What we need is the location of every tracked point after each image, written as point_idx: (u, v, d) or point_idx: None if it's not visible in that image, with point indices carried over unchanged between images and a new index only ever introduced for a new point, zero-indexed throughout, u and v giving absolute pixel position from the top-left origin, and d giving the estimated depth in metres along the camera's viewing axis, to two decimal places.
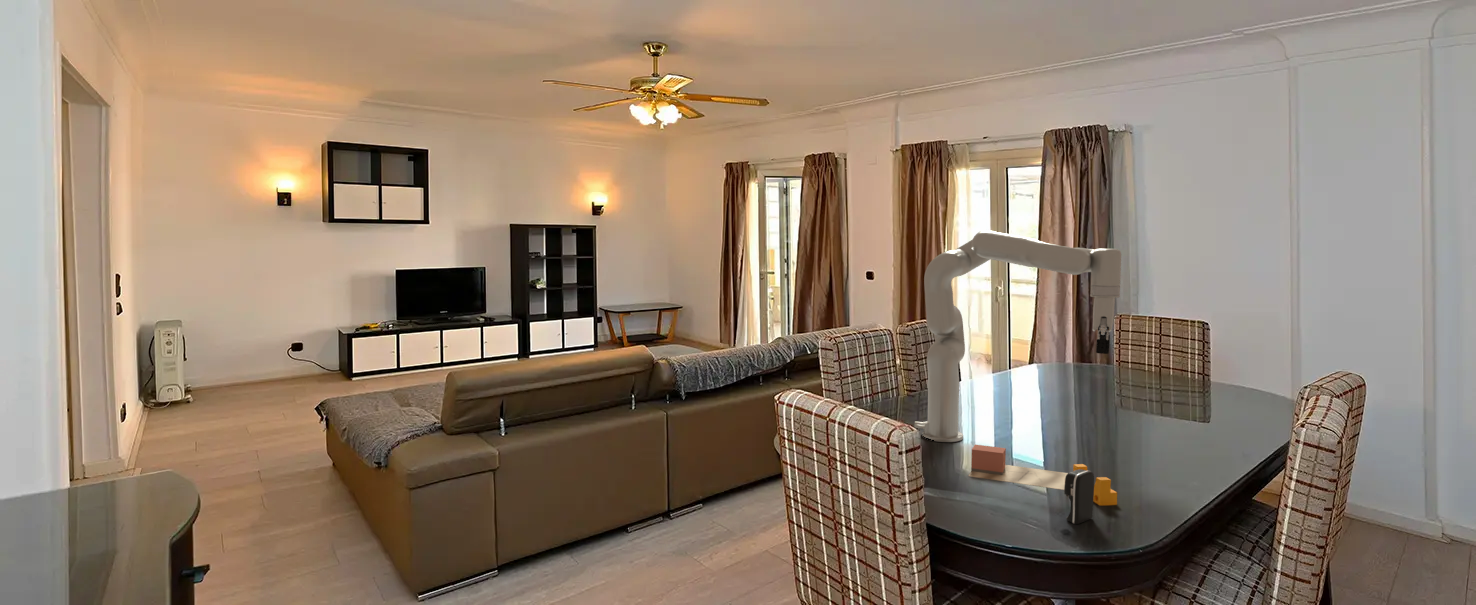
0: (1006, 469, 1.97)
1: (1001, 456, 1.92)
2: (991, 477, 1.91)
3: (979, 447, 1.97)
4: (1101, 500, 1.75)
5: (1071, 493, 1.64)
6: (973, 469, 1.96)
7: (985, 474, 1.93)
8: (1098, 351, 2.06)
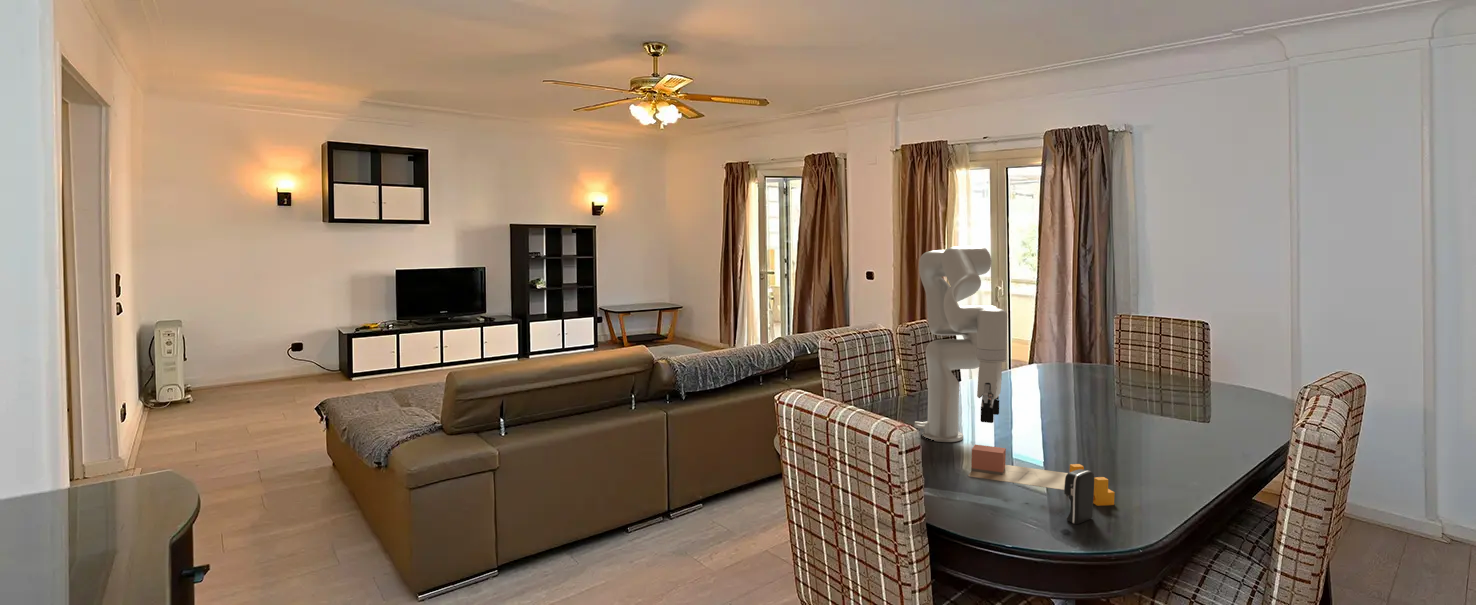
0: (1006, 469, 1.97)
1: (1001, 456, 1.92)
2: (991, 477, 1.91)
3: (979, 447, 1.97)
4: (1099, 500, 1.75)
5: (1071, 493, 1.64)
6: (973, 469, 1.96)
7: (985, 474, 1.93)
8: (982, 420, 1.91)
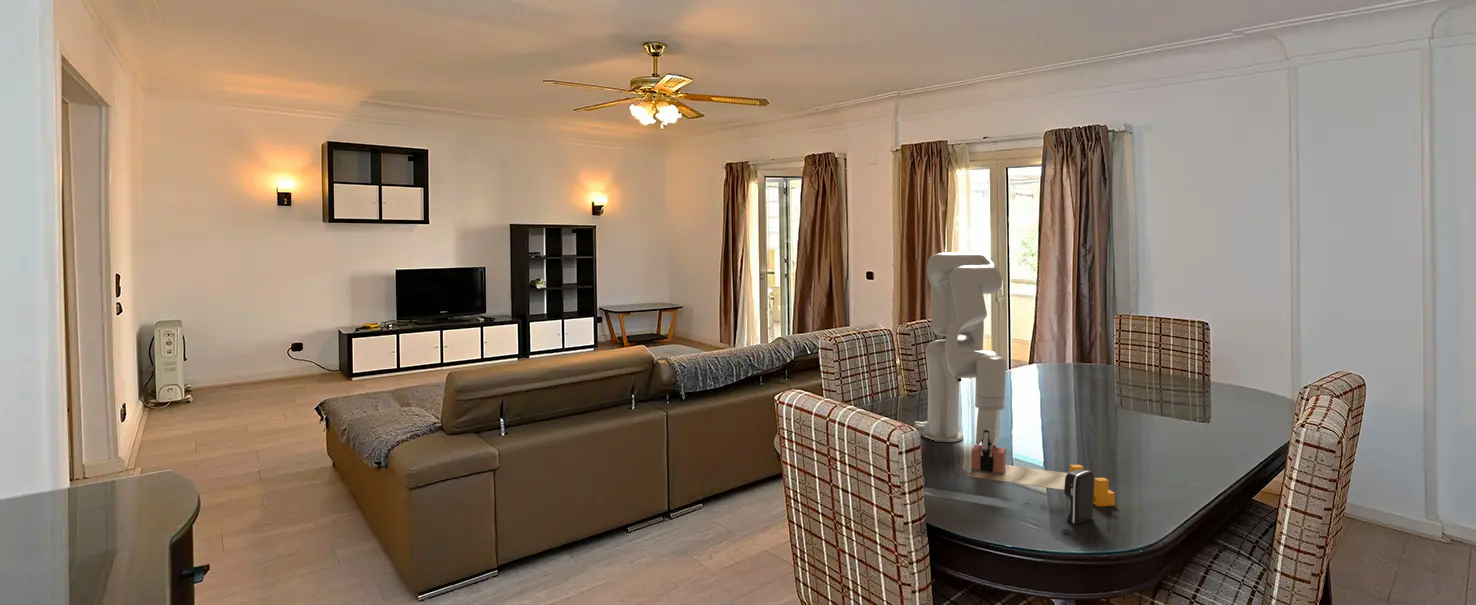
0: (1006, 469, 1.97)
1: (1001, 456, 1.92)
2: (991, 477, 1.91)
3: (979, 447, 1.97)
4: (1099, 501, 1.74)
5: (1071, 493, 1.64)
6: (973, 469, 1.96)
7: (985, 474, 1.93)
8: (982, 468, 1.94)
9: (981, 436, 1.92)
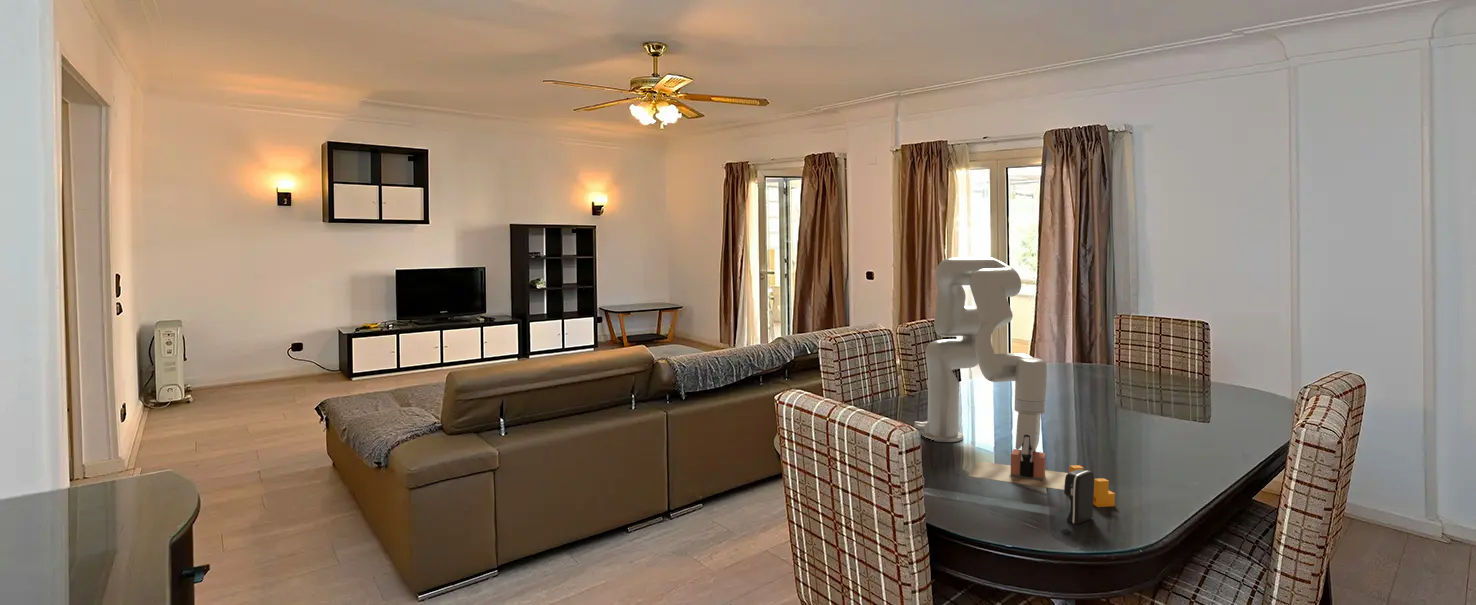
0: (1006, 469, 1.97)
1: (1042, 461, 1.88)
2: (991, 477, 1.91)
3: (1018, 452, 1.93)
4: (1099, 502, 1.74)
5: (1071, 493, 1.64)
6: (1012, 474, 1.91)
7: (985, 474, 1.93)
8: (1022, 474, 1.90)
9: (1021, 441, 1.87)
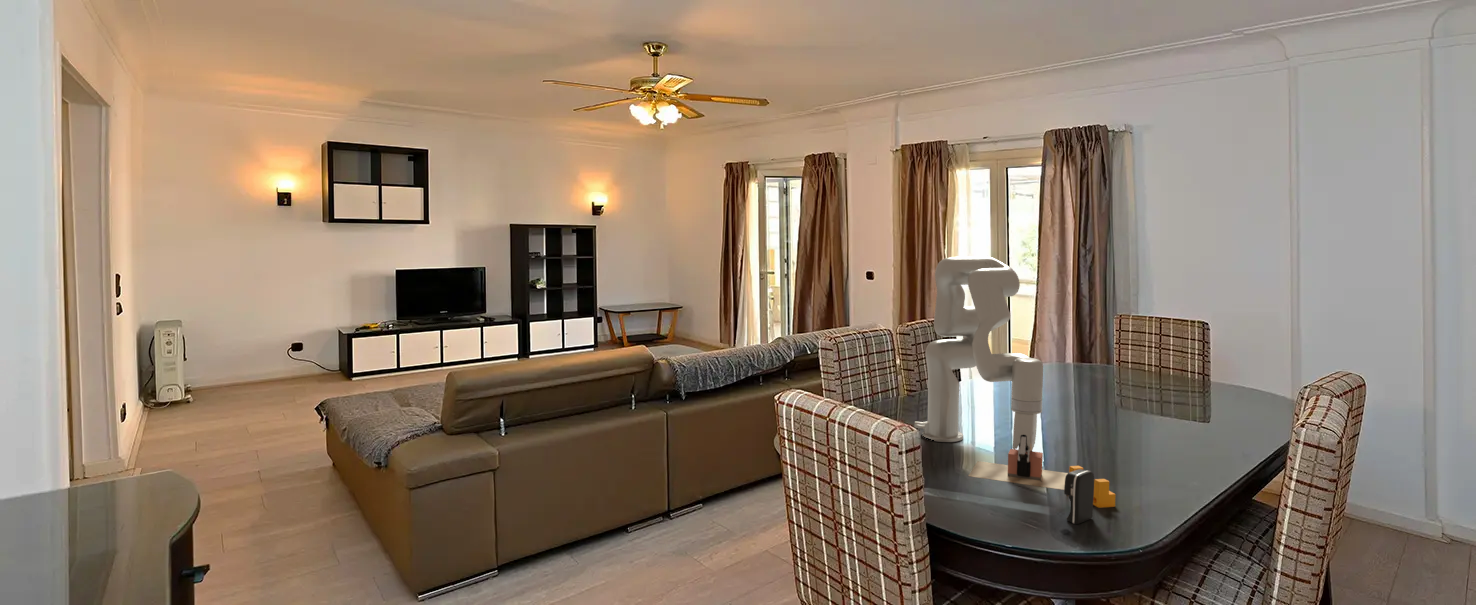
0: (1006, 469, 1.97)
1: (1039, 461, 1.88)
2: (991, 477, 1.91)
3: (1015, 451, 1.93)
4: (1100, 502, 1.74)
5: (1071, 493, 1.64)
6: (1009, 474, 1.92)
7: (985, 474, 1.93)
8: (1019, 473, 1.90)
9: (1018, 441, 1.87)
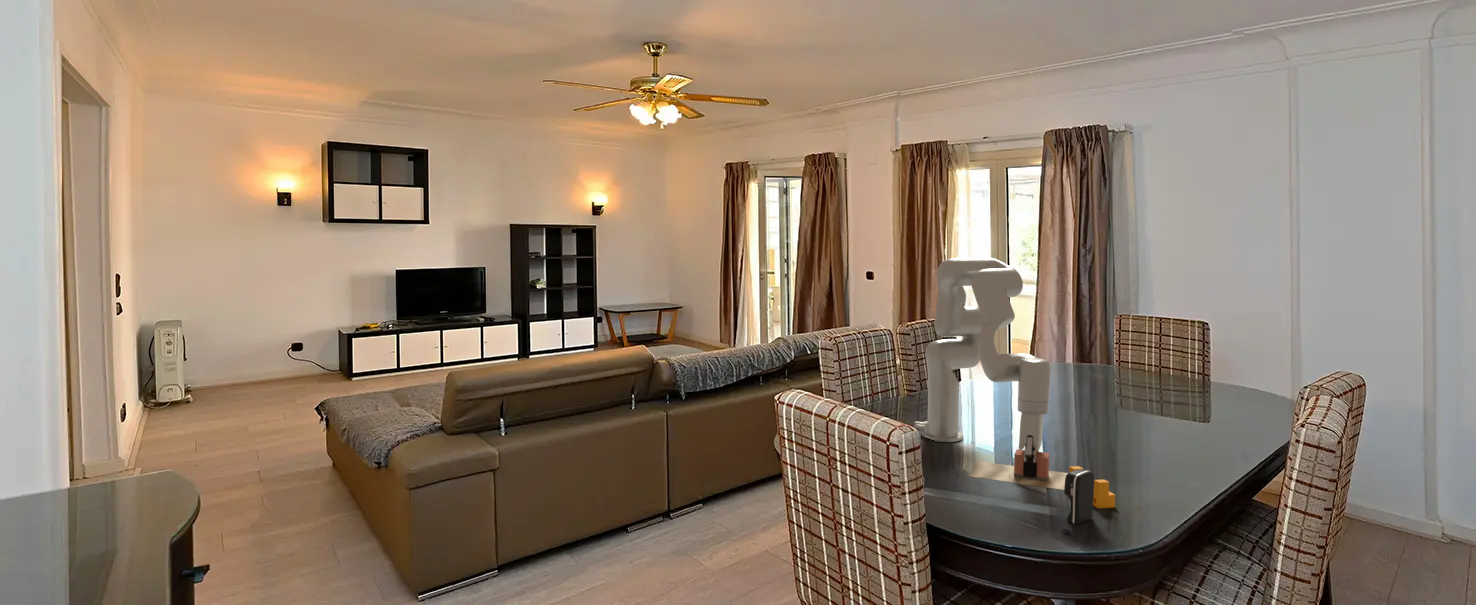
0: (1006, 469, 1.97)
1: (1045, 461, 1.87)
2: (991, 477, 1.91)
3: (1022, 452, 1.92)
4: (1099, 503, 1.73)
5: (1071, 493, 1.64)
6: (1016, 474, 1.91)
7: (985, 474, 1.93)
8: (1025, 474, 1.89)
9: (1025, 441, 1.87)
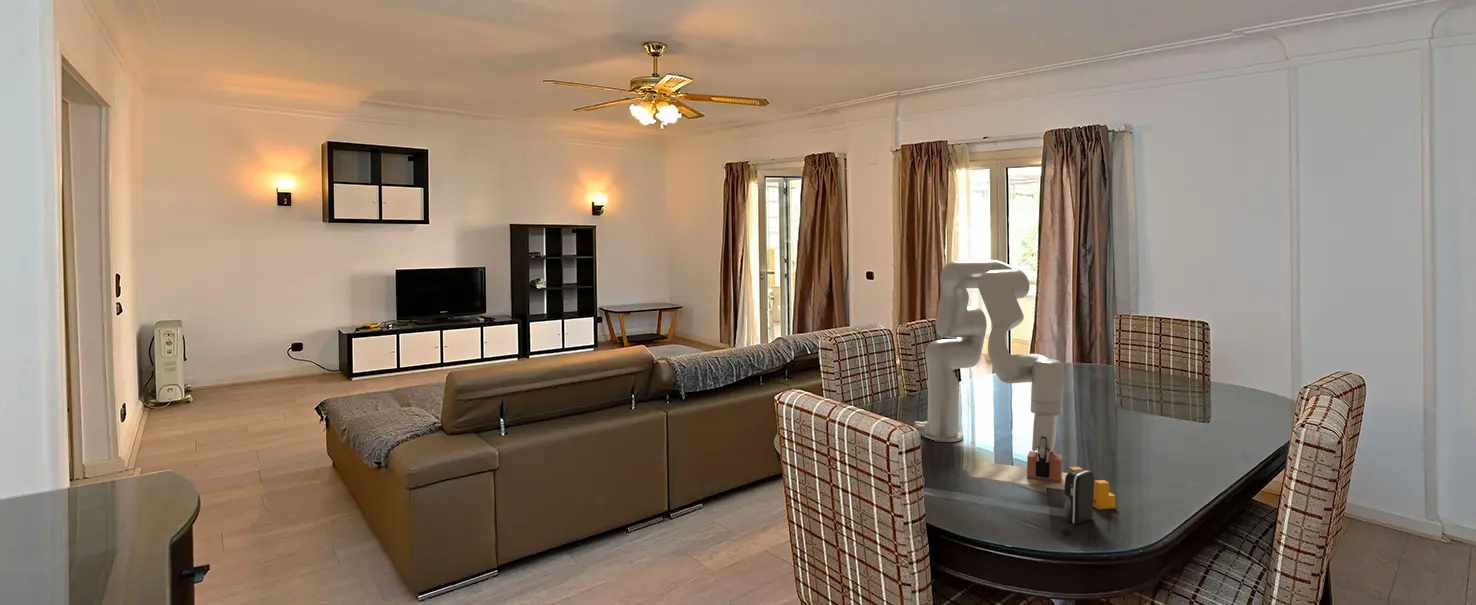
0: (1006, 469, 1.97)
1: (1059, 463, 1.86)
2: (991, 477, 1.91)
3: (1034, 454, 1.91)
4: (1099, 504, 1.73)
5: (1071, 493, 1.64)
6: (1029, 477, 1.90)
7: (985, 474, 1.93)
8: (1038, 474, 1.86)
9: (1038, 442, 1.85)
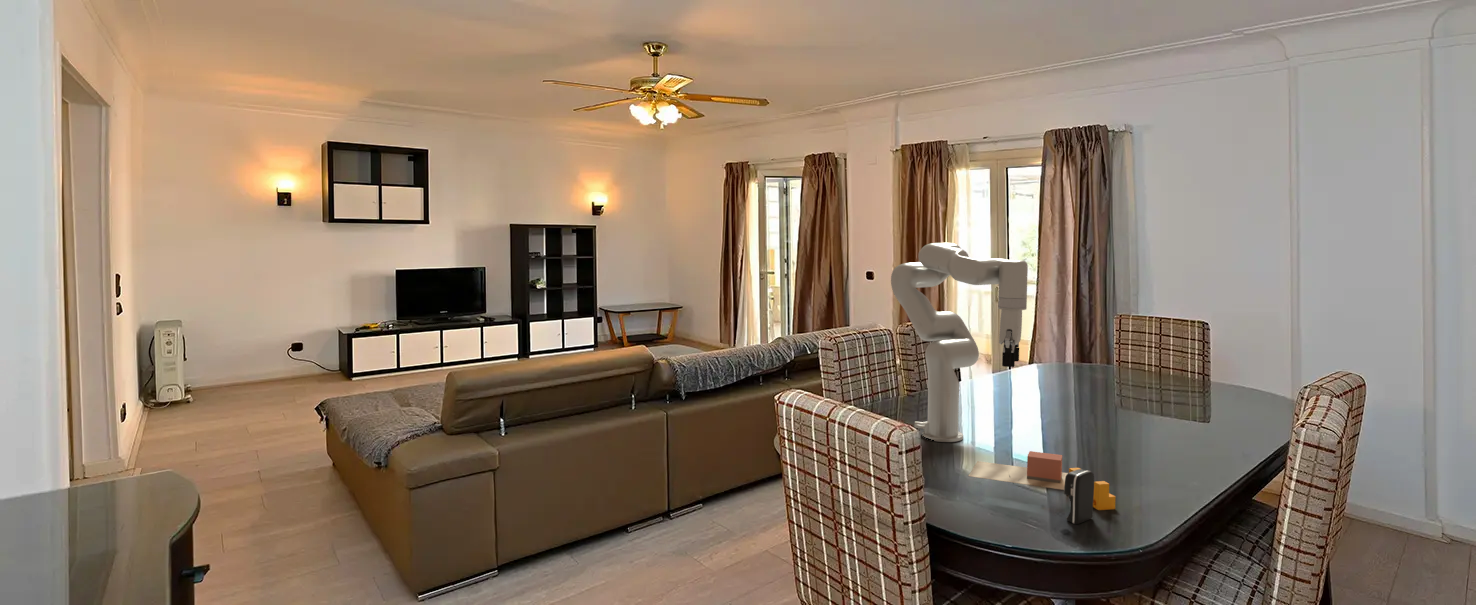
0: (1006, 469, 1.97)
1: (1059, 463, 1.86)
2: (991, 477, 1.91)
3: (1034, 454, 1.91)
4: (1100, 505, 1.72)
5: (1071, 493, 1.64)
6: (1029, 477, 1.90)
7: (985, 474, 1.93)
8: (1004, 364, 2.03)
9: (1004, 335, 2.02)
